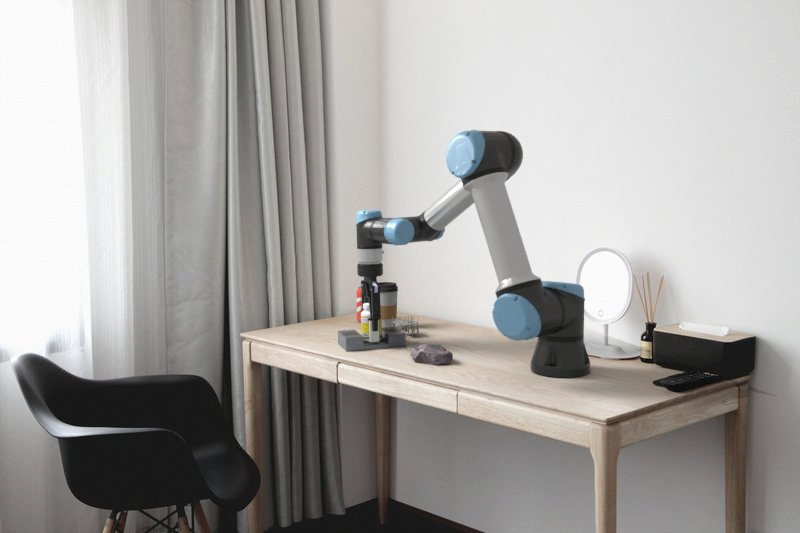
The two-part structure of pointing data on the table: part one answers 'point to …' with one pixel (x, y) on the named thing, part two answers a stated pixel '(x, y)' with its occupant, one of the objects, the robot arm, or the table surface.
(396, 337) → the grey recessed block
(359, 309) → the beverage can
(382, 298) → the coffee cup
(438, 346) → the rock
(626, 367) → the table surface
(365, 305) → the pill bottle
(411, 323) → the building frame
